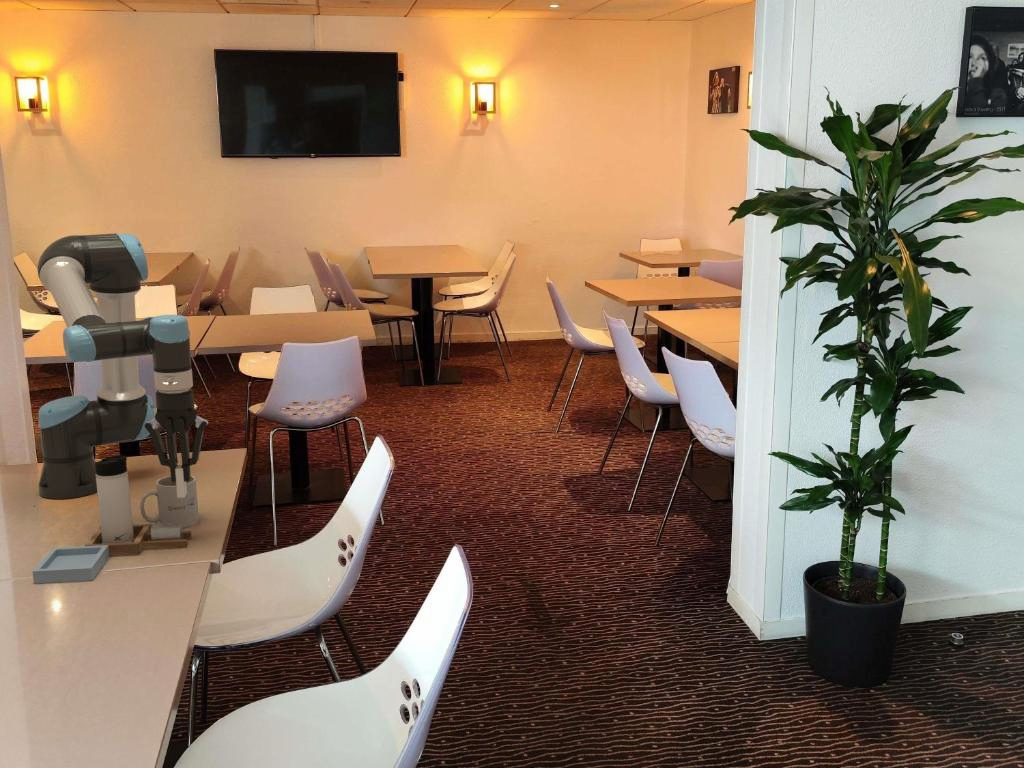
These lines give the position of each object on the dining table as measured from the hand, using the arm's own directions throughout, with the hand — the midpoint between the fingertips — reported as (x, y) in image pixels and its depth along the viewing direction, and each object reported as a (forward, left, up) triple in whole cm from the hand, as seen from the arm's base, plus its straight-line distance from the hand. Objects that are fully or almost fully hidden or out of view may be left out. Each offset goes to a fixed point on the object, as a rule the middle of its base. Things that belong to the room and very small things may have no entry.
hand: (182, 495), depth 205 cm
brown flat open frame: (0, -9, -11) cm, 14 cm away
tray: (+12, -20, -11) cm, 26 cm away
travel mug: (0, -14, -11) cm, 18 cm away
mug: (-13, -6, -11) cm, 18 cm away
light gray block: (0, -4, -11) cm, 11 cm away
